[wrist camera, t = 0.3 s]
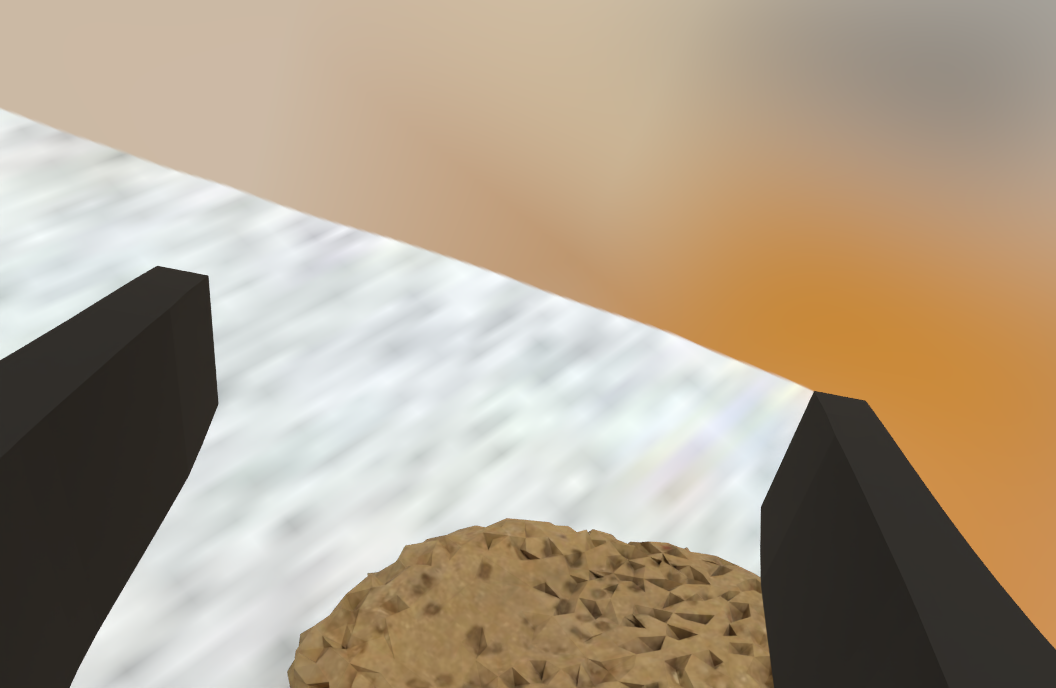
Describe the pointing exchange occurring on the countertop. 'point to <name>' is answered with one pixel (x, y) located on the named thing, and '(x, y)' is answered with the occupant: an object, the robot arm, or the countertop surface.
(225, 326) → the countertop surface
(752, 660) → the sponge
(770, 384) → the countertop surface
